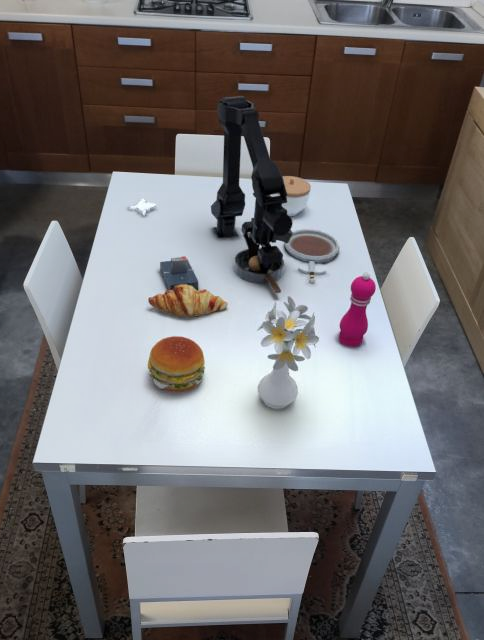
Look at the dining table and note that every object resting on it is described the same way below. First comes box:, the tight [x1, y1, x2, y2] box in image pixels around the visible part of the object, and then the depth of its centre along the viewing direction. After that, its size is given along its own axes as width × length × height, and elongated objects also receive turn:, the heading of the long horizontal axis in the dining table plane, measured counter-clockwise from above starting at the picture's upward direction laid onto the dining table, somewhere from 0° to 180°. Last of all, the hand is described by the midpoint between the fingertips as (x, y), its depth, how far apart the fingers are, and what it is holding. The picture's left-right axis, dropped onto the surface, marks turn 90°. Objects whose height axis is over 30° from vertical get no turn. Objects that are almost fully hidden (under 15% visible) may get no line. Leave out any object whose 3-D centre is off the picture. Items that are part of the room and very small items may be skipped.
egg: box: [249, 256, 260, 272], centre depth 186 cm, size 4×6×4 cm
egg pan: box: [233, 247, 285, 284], centre depth 186 cm, size 14×14×4 cm
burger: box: [147, 335, 206, 393], centre depth 150 cm, size 14×14×10 cm
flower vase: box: [256, 295, 320, 410], centre depth 141 cm, size 13×18×25 cm
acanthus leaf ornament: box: [129, 198, 157, 217], centre depth 208 cm, size 8×7×2 cm
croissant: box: [147, 284, 229, 318], centre depth 171 cm, size 21×10×8 cm, turn 95°
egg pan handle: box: [265, 274, 282, 294], centre depth 178 cm, size 8×2×1 cm, turn 18°
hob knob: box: [170, 255, 188, 274], centre depth 178 cm, size 4×2×4 cm, turn 107°
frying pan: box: [283, 228, 340, 285], centre depth 193 cm, size 17×3×28 cm
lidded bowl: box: [271, 175, 312, 217], centre depth 210 cm, size 13×13×11 cm
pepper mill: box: [338, 272, 377, 348], centre depth 161 cm, size 7×7×20 cm
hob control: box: [159, 259, 199, 291], centre depth 180 cm, size 12×8×3 cm
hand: (258, 268), depth 187 cm, fingers open, 8 cm apart
